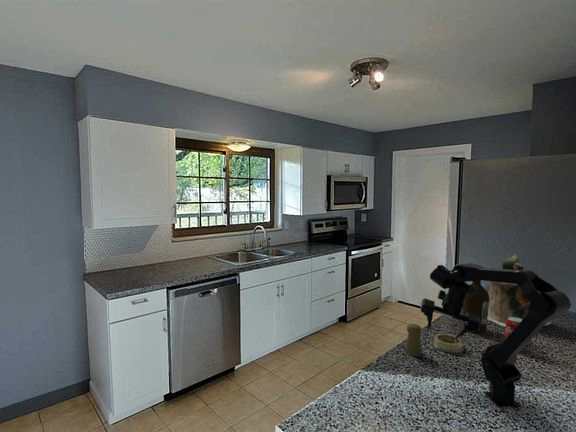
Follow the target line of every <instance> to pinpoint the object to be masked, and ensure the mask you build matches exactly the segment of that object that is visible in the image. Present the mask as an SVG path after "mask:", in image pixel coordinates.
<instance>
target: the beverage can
mask: <svg viewBox="0 0 576 432" xmlns="http://www.w3.org/2000/svg"><path fill="white" fill-rule="evenodd" d="M521 321H522V319H520V318H516V317H508V319H507V320H506V328H505V327H504V329H505V332H504V340H505V339H506V338H507V337H508V336H509V335H510V333H511V332H512V331H513V330H514V329H515V328H516V327H517V325H518V324H519V323H520V322H521ZM524 348H525V347H524ZM524 348H523V349H522V350H524Z"/></svg>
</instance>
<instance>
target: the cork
mask: <svg viewBox="0 0 576 432" xmlns="http://www.w3.org/2000/svg"><path fill="white" fill-rule="evenodd" d="M406 331H407V333H408V334H407V338H406V344H405V349H404V350H405V351H404V352H405V354H407V355H409V356H412V357H420V356H422V355H423V354H422V345H421V337H420V336H421V335H420V334H421V333H422V327H421V326H420V325H419V324H417V323H409V324H407V325H406Z"/></svg>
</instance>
